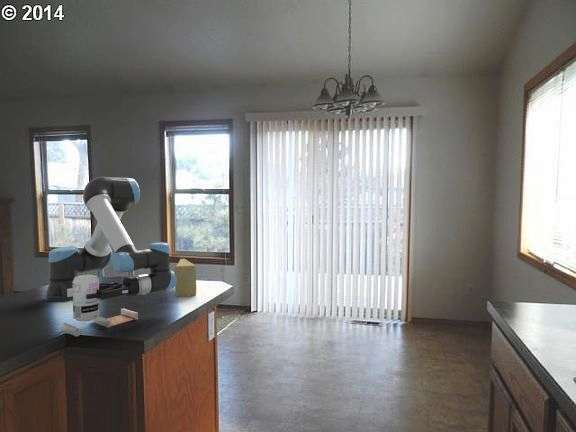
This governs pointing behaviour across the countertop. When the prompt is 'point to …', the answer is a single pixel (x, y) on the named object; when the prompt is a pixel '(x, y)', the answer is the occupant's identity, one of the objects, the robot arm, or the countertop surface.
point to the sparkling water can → (89, 307)
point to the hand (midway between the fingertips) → (71, 295)
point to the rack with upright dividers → (104, 321)
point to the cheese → (185, 279)
